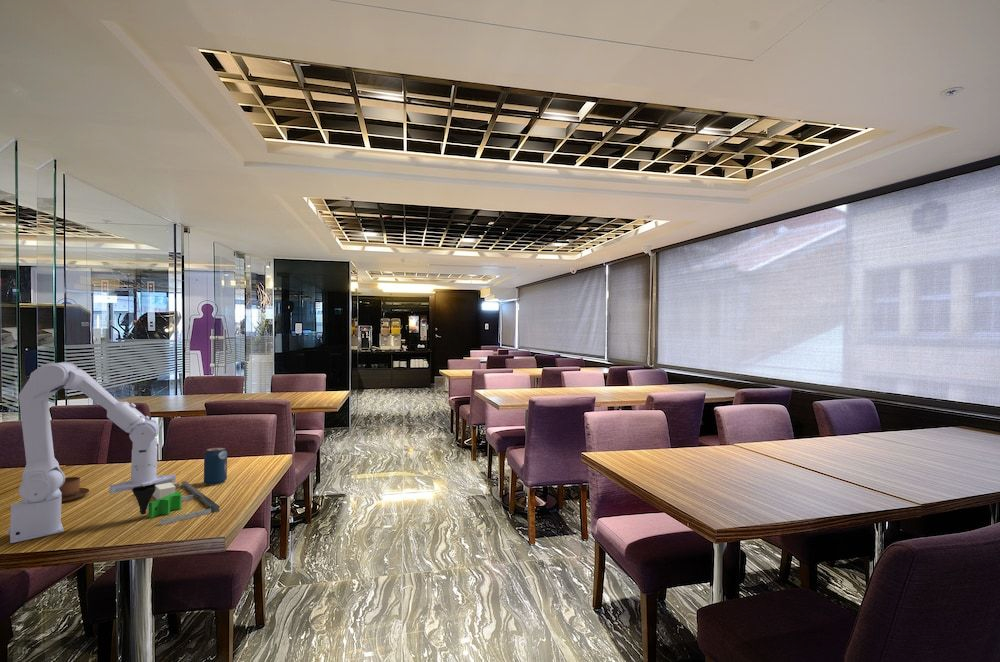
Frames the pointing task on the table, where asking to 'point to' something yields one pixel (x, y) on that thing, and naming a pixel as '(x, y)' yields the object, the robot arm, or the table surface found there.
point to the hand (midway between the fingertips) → (143, 513)
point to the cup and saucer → (72, 489)
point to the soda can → (215, 466)
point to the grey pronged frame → (195, 493)
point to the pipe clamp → (165, 504)
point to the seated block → (164, 490)
